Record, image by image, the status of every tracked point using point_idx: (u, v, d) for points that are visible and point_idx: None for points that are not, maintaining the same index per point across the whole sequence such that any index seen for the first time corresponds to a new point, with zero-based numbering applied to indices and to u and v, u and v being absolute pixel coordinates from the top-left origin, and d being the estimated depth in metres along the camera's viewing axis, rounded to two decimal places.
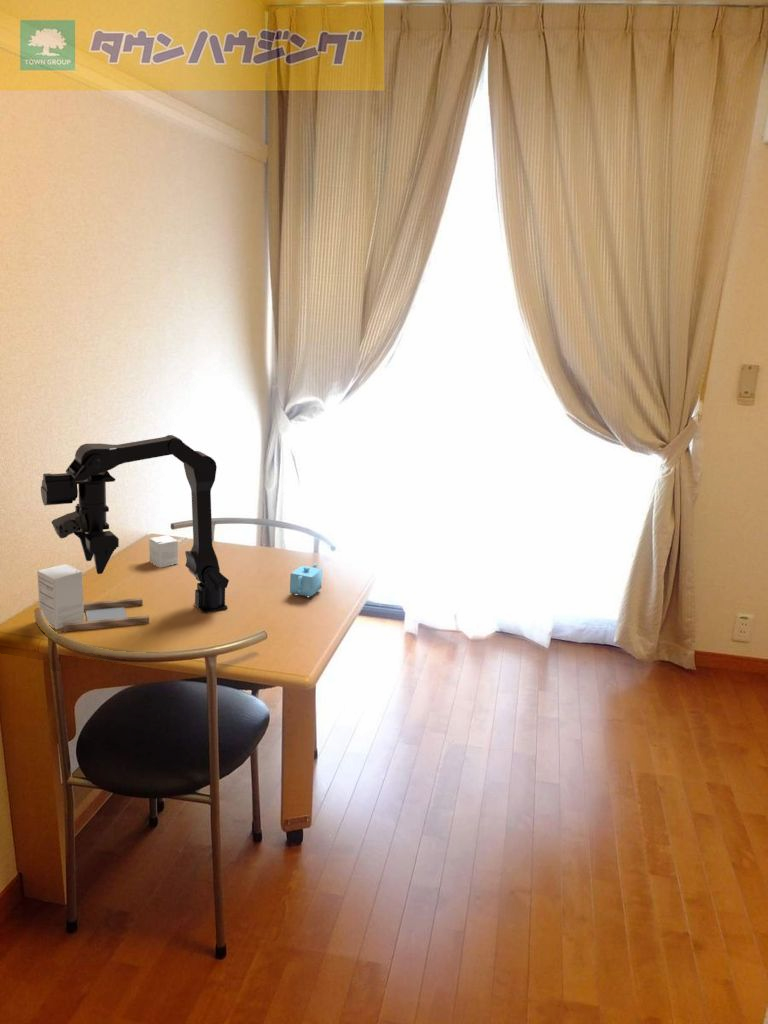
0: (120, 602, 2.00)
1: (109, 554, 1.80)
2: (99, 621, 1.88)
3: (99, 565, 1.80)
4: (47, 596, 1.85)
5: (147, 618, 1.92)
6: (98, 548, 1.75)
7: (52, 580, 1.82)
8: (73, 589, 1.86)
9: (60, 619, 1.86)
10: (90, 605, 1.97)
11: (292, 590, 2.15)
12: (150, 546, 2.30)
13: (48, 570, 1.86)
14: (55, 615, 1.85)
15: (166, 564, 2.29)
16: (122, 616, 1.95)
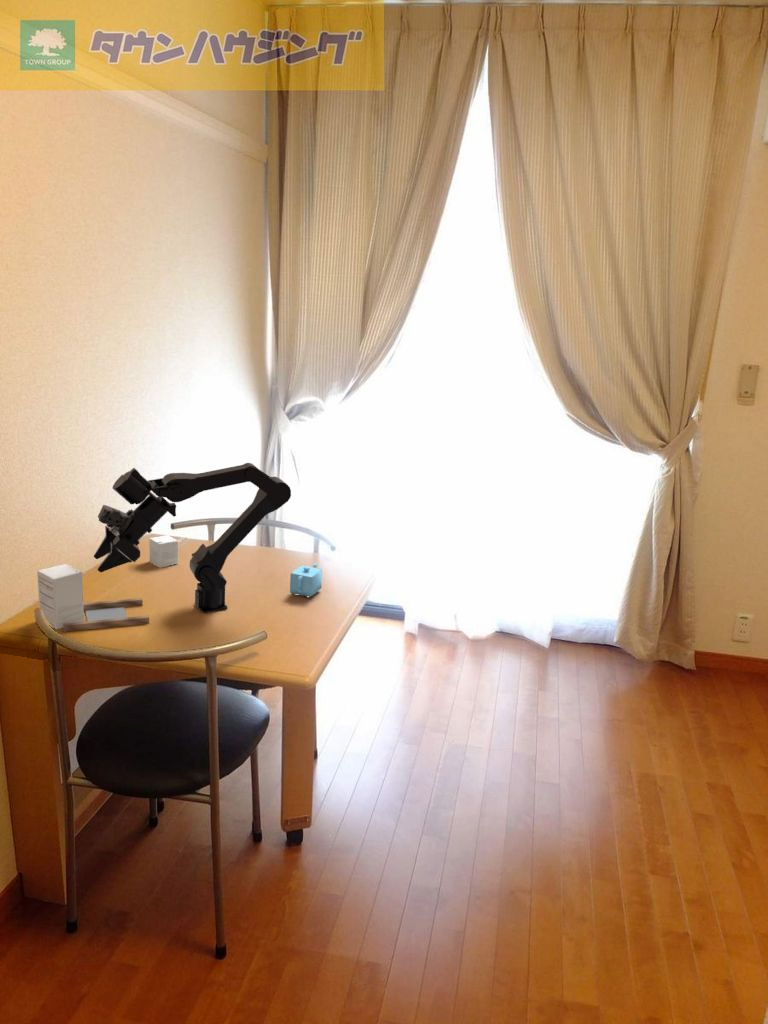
0: (120, 602, 2.00)
1: (120, 562, 1.86)
2: (99, 621, 1.88)
3: (105, 564, 1.85)
4: (47, 596, 1.85)
5: (147, 618, 1.92)
6: (120, 549, 1.82)
7: (52, 580, 1.82)
8: (73, 589, 1.86)
9: (60, 619, 1.86)
10: (90, 605, 1.97)
11: (292, 590, 2.15)
12: (150, 546, 2.30)
13: (48, 570, 1.86)
14: (55, 615, 1.85)
15: (166, 564, 2.29)
16: (122, 616, 1.95)
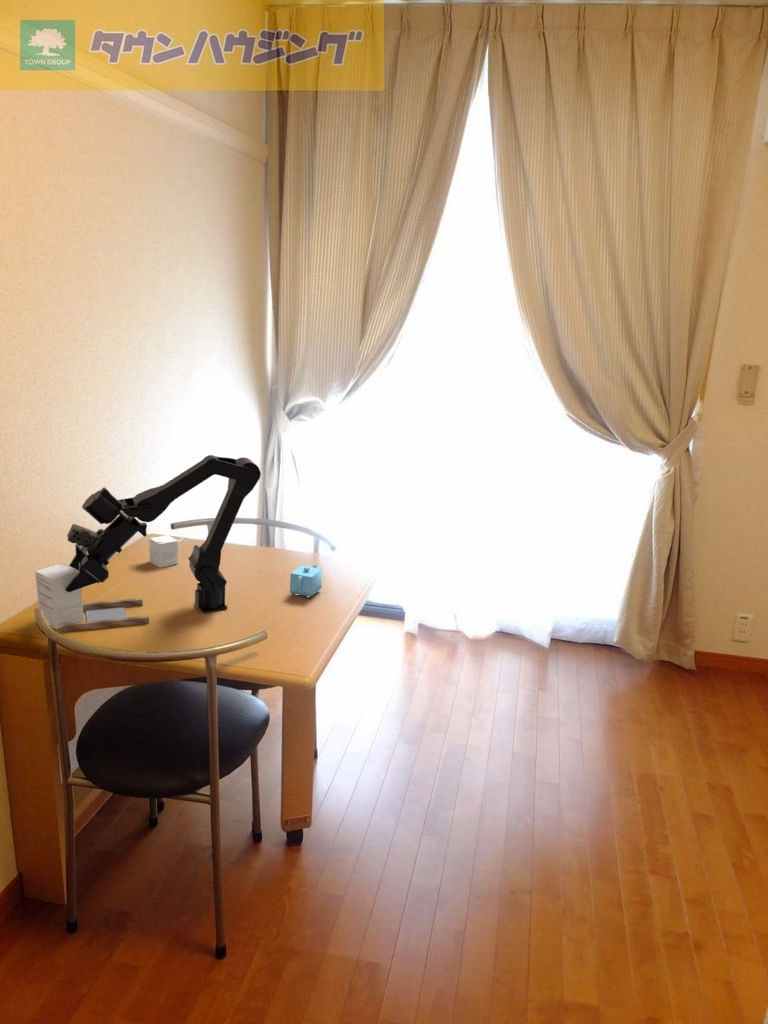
0: (120, 602, 2.00)
1: (89, 583, 1.84)
2: (99, 621, 1.88)
3: (73, 584, 1.84)
4: (46, 597, 1.85)
5: (147, 618, 1.92)
6: (88, 570, 1.80)
7: (50, 580, 1.82)
8: None
9: (60, 619, 1.86)
10: (90, 605, 1.97)
11: (292, 590, 2.15)
12: (150, 546, 2.30)
13: (45, 570, 1.86)
14: (55, 615, 1.84)
15: (166, 564, 2.29)
16: (122, 616, 1.95)
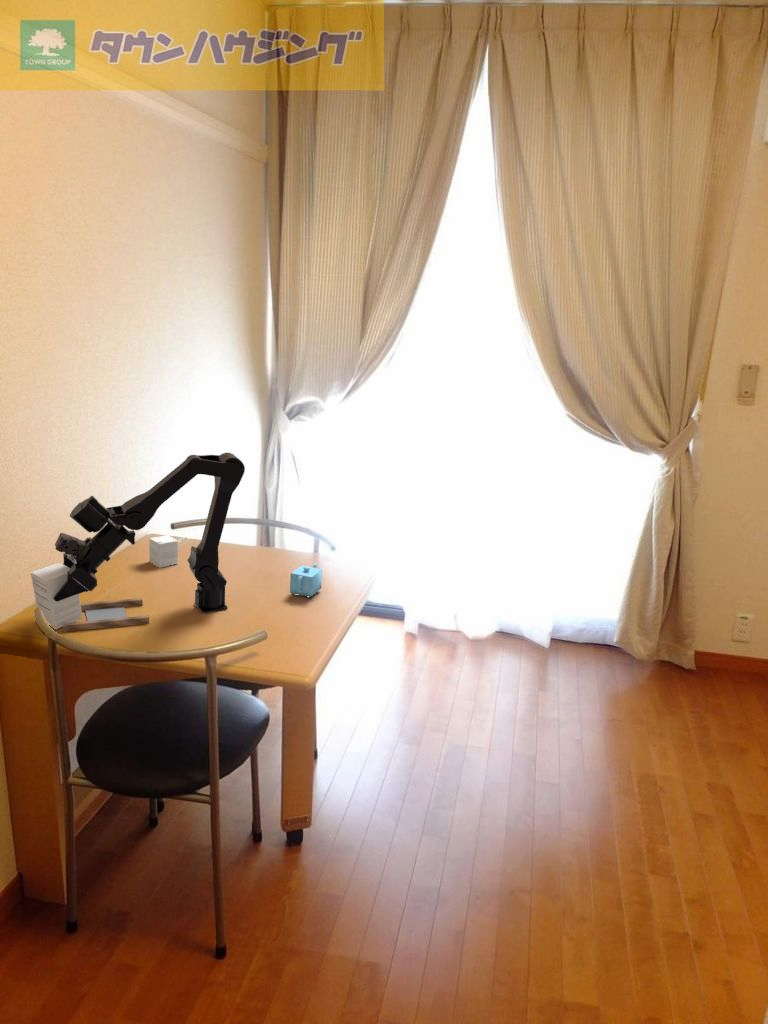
0: (120, 602, 2.00)
1: (77, 592, 1.83)
2: (99, 621, 1.88)
3: (61, 593, 1.83)
4: (43, 598, 1.84)
5: (147, 618, 1.92)
6: (76, 579, 1.79)
7: (45, 582, 1.81)
8: None
9: (58, 619, 1.85)
10: (90, 605, 1.97)
11: (292, 590, 2.15)
12: (150, 546, 2.30)
13: (41, 571, 1.85)
14: (52, 616, 1.84)
15: (166, 564, 2.29)
16: (122, 616, 1.95)
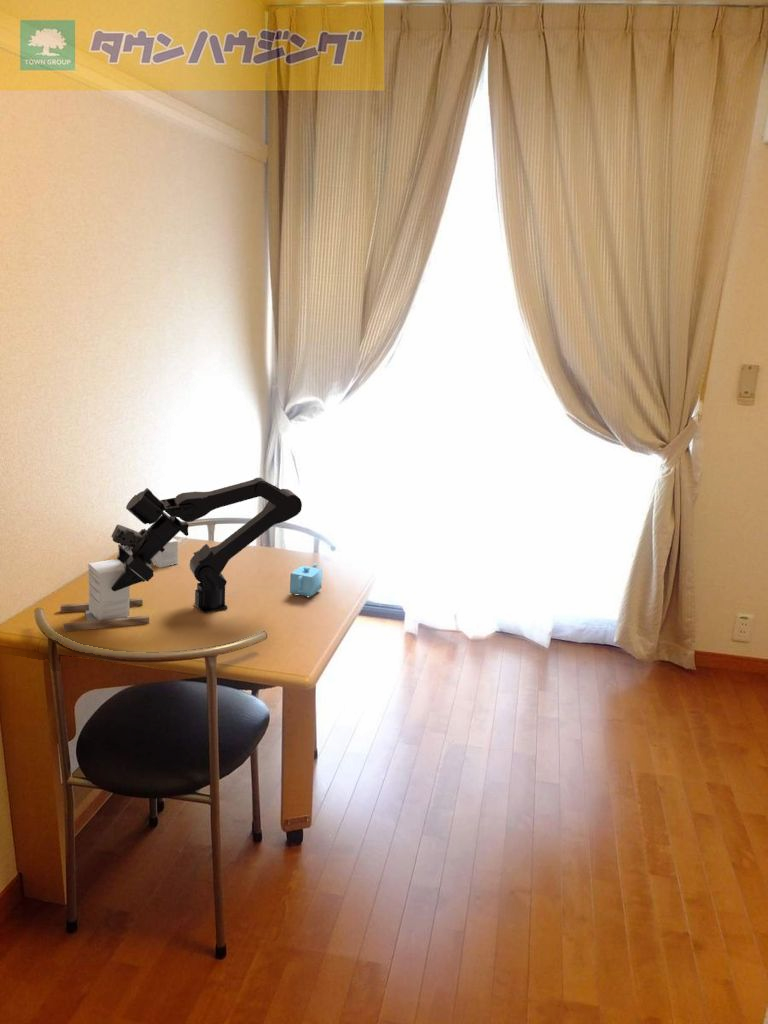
0: None
1: (134, 582, 1.88)
2: (99, 621, 1.88)
3: (118, 583, 1.88)
4: (95, 589, 1.90)
5: (147, 618, 1.92)
6: (134, 569, 1.84)
7: (99, 575, 1.87)
8: None
9: (105, 613, 1.90)
10: None
11: (292, 590, 2.15)
12: None
13: (98, 564, 1.91)
14: (100, 609, 1.89)
15: (166, 564, 2.29)
16: None
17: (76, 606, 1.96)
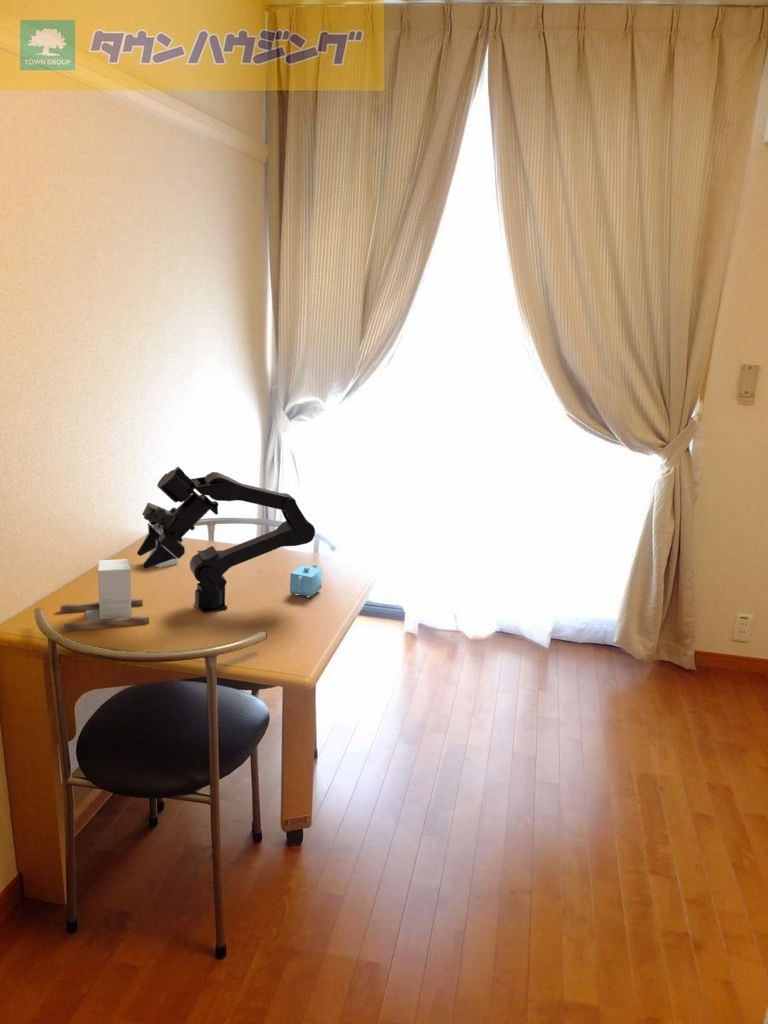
0: None
1: (165, 559, 1.90)
2: (99, 621, 1.88)
3: (149, 561, 1.89)
4: None
5: (147, 618, 1.92)
6: (166, 546, 1.86)
7: None
8: (119, 584, 1.91)
9: (104, 610, 1.91)
10: (90, 605, 1.97)
11: (292, 590, 2.15)
12: None
13: (105, 562, 1.94)
14: (100, 606, 1.91)
15: (166, 564, 2.29)
16: None
17: (76, 606, 1.96)
